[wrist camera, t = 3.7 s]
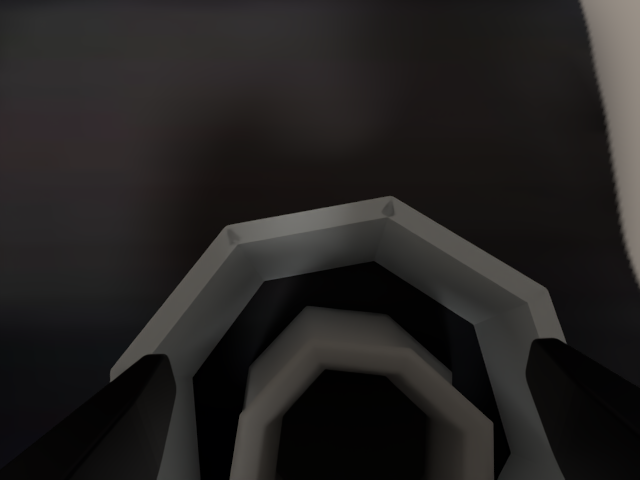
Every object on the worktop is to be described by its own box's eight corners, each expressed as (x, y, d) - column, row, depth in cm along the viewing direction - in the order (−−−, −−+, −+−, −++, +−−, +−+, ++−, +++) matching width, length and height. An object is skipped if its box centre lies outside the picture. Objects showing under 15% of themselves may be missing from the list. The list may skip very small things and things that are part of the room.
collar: (568, 579, 13) (684, 678, 8) (193, 654, 12) (119, 796, 8) (462, 229, 16) (507, 174, 12) (168, 282, 16) (107, 246, 12)
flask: (199, 471, 14) (-88, 660, 5) (295, 274, 16) (234, 120, 6) (407, 586, 13) (604, 1164, 3) (484, 359, 15) (746, 320, 5)
